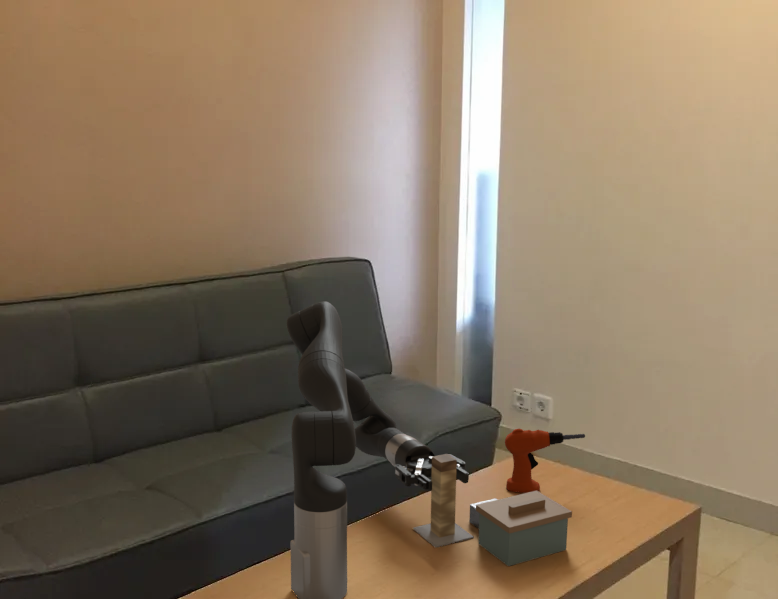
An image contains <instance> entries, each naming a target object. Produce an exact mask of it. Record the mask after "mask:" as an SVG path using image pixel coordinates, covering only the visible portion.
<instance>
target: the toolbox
mask: <svg viewBox="0 0 778 599" xmlns="http://www.w3.org/2000/svg"><path fill="white" fill-rule="evenodd" d="M476 511H477V512H479V529H478V541H477V542H478V545H479V546H480V547H482V548H483V549H485V550H486V551H488V552H489V553H490V554H491V555H493V556H494V557H495V558H497V559H499V560H500V562H502V563H503V564H505V565H506V566H508V567H511V566H514V565H517V564H518V565H519V564H521V563H525V562H528V561H531V560H532V561H533V560H535V559H538V558H542V557H545V556H549V555H552V554H556V553H559V552H564V551H567V544H568V543H567V541H568V540H567V539H568V526H569V525H568V523H569V522H568V521H569V519H570V518H572V516H573V511H572V510H570V509H568V508H567V507H565V506H564V505H562V504H561V503H558V502H557V501H555V500H553V499H551V497H549V496H547V495H545V494H543V493H541V492H540V491H533V492H528V493H521V494H516V495H512V496H509V497H504V498H500V499H498V500H495V501H490V502H486V503H482V504H478V505H476Z"/></svg>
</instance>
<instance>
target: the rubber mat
mask: <svg viewBox="0 0 778 599" xmlns="http://www.w3.org/2000/svg"><path fill="white" fill-rule="evenodd" d="M413 529H414V530H413ZM412 530H413V531H415V533H417V534H418V535H419V534H420V535H419V536H420V537H422V538H423V539H424V540H425V541H426V542H428V543H429V544H430V543H431V544H432V545H431V544H430V545H431V546H433V547H434V548H435V549H436V547H437V548H441V547H444V546H447V545H452V544H456V543H459V541H460V542H463V540H464V541H467V540H471V539H474V536H473V534H471V533H470V532H468V531H467V530H465V529H464V528H463V527H462V526H460V525H458V523H456V522H455V534H453V535H448V536H444V537H440V538H439V537H438V536H437V535H436V534H434V533H433V532H432V531H431V522H430V523H426V524H423V525H419V526H414V527H412ZM455 542H456V543H455ZM451 543H452V544H451ZM443 545H444V546H443ZM440 546H441V547H440Z"/></svg>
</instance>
